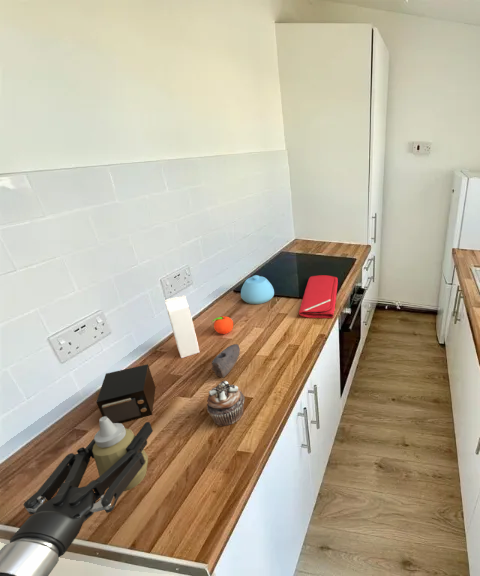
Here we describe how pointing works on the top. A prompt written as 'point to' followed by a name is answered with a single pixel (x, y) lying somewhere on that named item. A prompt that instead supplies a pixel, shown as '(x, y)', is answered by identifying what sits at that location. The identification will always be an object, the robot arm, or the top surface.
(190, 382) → the top surface
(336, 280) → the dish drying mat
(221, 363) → the perforated stone tool
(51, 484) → the robot arm
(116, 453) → the squeeze bottle
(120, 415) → the toaster oven
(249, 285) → the sugar bowl
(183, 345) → the milk
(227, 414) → the cupcake
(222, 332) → the clementine
